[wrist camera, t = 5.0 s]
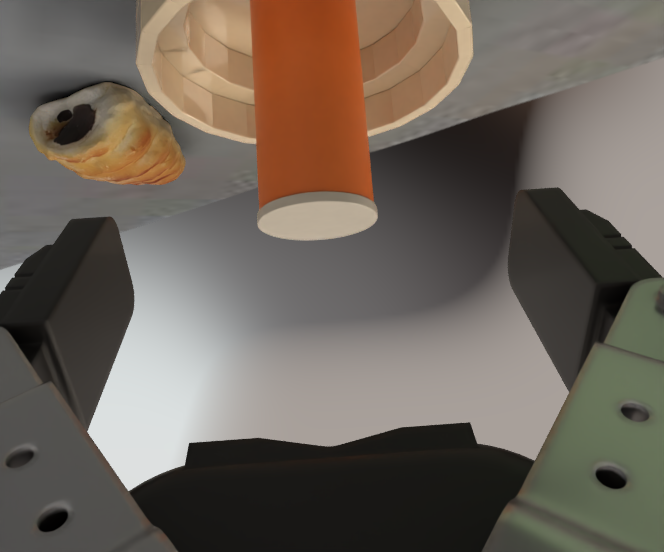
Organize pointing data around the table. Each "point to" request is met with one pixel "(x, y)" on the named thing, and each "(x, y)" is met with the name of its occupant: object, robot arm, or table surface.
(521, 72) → the table surface
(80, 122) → the pastry
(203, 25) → the oatmeal bowl
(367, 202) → the cracker tube
